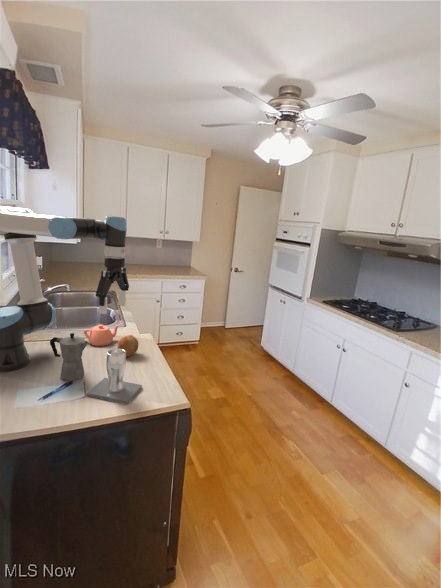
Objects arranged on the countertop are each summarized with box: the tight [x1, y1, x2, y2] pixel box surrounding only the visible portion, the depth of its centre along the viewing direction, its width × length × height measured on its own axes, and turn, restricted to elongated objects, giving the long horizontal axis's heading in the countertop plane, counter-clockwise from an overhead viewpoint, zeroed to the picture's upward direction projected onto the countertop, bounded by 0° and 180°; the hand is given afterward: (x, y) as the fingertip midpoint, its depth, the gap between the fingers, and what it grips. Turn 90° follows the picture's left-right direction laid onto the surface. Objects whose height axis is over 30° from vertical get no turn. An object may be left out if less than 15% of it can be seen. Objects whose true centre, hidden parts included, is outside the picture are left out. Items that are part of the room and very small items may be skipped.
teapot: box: [83, 323, 121, 347], centre depth 158 cm, size 12×18×10 cm
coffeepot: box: [49, 332, 90, 381], centre depth 122 cm, size 15×9×18 cm, turn 89°
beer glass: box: [105, 347, 127, 393], centre depth 114 cm, size 7×7×15 cm
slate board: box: [86, 377, 143, 405], centre depth 115 cm, size 16×12×1 cm
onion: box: [117, 334, 139, 357], centre depth 146 cm, size 10×10×10 cm
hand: (112, 309), depth 123 cm, fingers open, 13 cm apart
